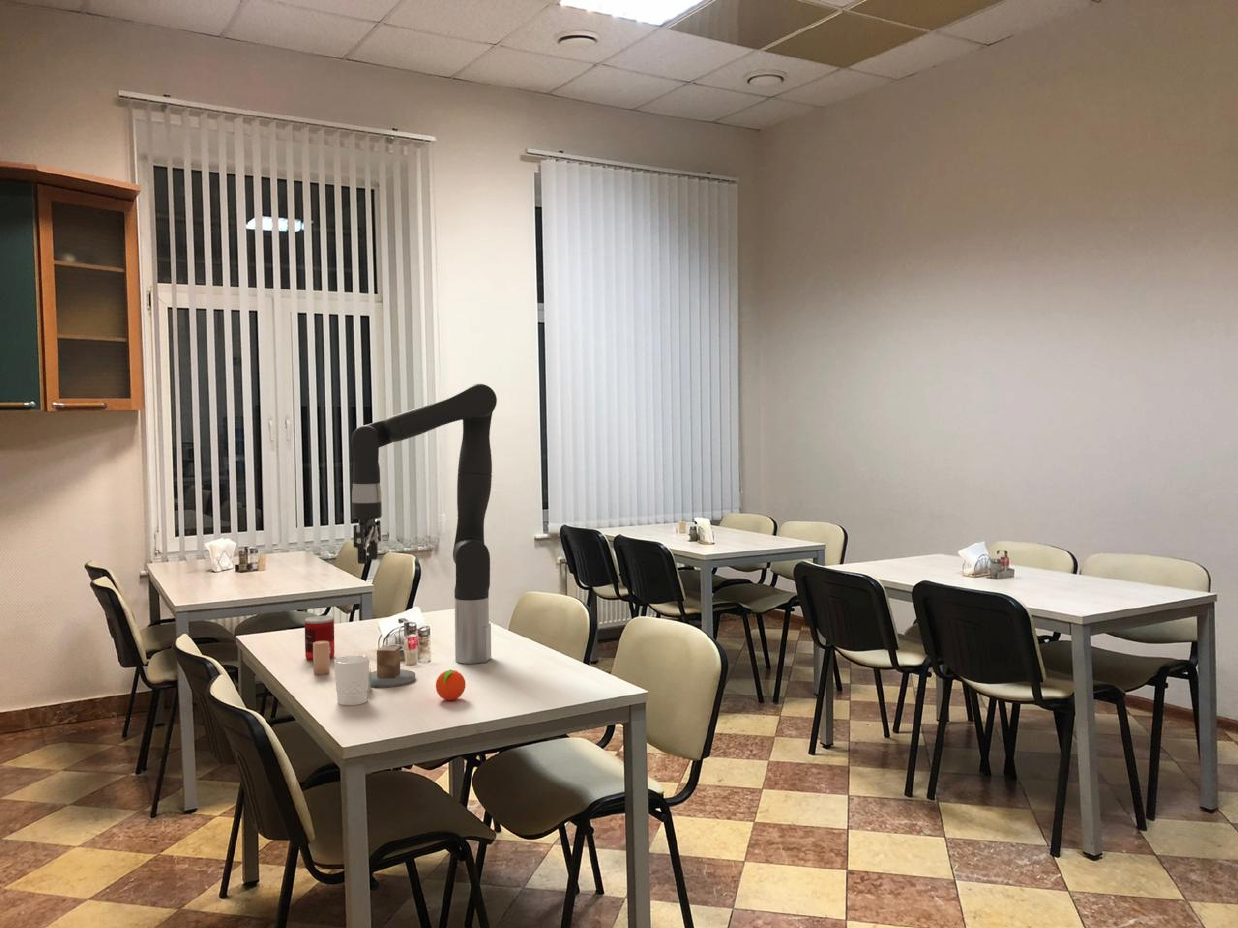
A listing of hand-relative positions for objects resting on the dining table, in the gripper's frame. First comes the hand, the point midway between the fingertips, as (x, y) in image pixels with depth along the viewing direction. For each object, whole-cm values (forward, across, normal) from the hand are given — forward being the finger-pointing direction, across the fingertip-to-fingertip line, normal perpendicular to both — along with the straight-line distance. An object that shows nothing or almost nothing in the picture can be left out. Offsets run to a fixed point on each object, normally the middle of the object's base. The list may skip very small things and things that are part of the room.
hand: (367, 561), depth 258 cm
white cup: (+28, -33, -8) cm, 44 cm away
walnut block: (+27, -14, -10) cm, 32 cm away
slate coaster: (+28, -14, -10) cm, 33 cm away
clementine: (+28, -30, -30) cm, 51 cm away
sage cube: (+28, -24, -6) cm, 38 cm away
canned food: (+28, +8, +17) cm, 34 cm away
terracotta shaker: (+28, -8, +10) cm, 31 cm away
